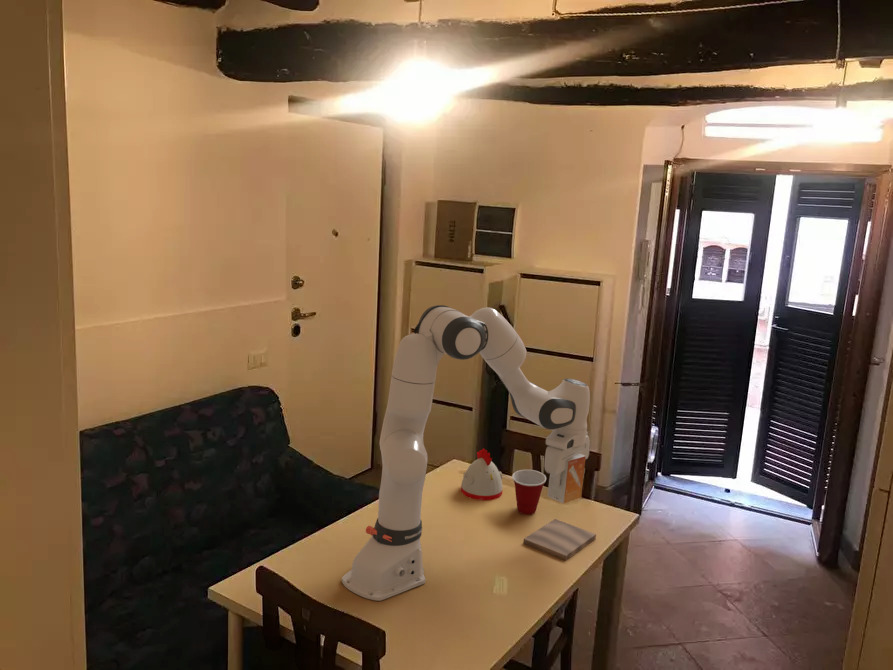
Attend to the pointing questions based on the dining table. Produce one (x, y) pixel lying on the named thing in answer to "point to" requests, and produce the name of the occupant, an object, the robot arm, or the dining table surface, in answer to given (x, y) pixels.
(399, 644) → the dining table surface
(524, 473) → the plastic cup
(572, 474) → the small box
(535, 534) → the walnut board
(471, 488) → the kitchen timer
